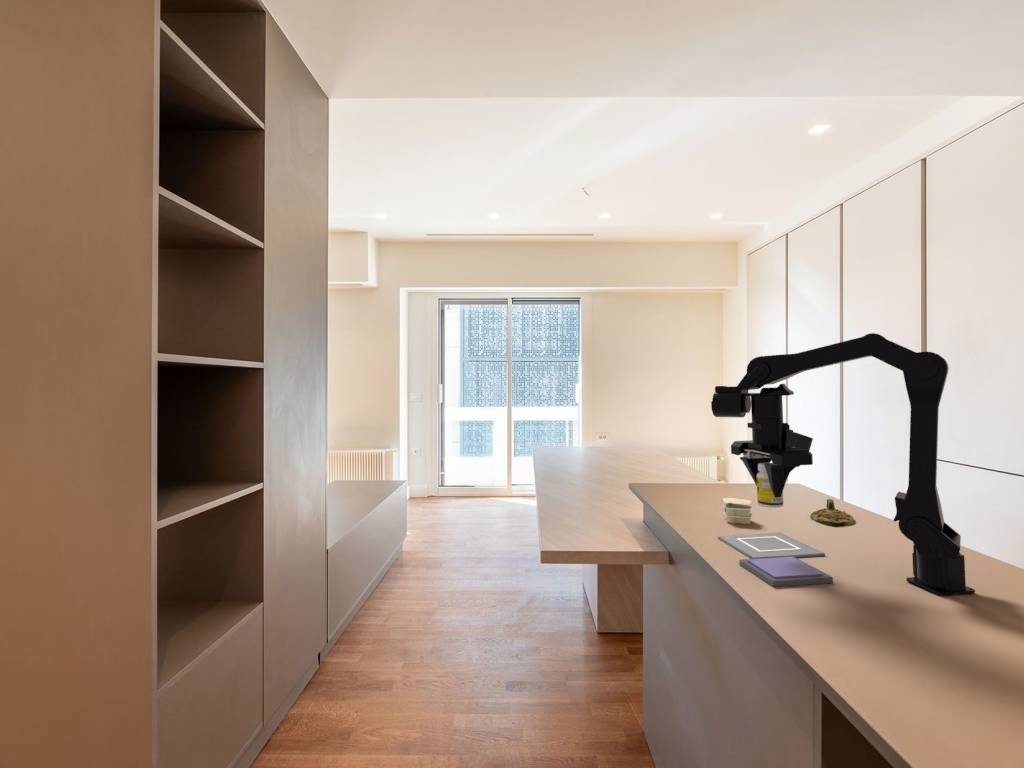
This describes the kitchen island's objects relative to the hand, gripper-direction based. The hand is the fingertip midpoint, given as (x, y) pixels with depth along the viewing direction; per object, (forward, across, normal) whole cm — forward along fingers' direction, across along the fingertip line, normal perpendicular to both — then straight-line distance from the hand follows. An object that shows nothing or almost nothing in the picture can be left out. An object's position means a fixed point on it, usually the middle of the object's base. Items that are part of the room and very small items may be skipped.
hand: (769, 494), depth 101 cm
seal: (+13, +23, -31) cm, 41 cm away
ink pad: (+13, -9, +3) cm, 16 cm away
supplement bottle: (+2, 0, 0) cm, 2 cm away
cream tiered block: (+13, +27, -8) cm, 31 cm away
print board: (+13, +6, -3) cm, 14 cm away
